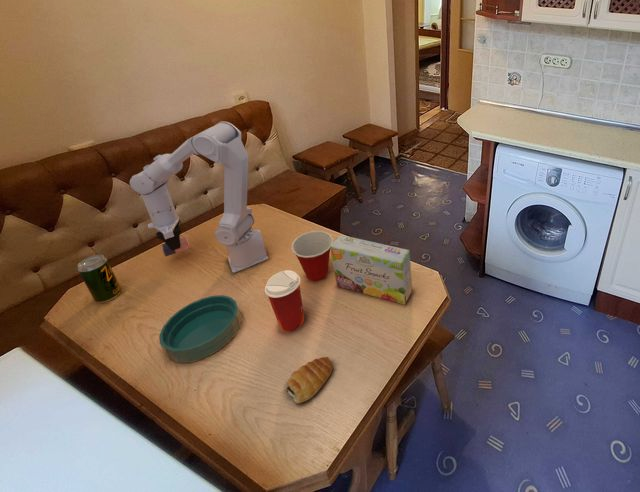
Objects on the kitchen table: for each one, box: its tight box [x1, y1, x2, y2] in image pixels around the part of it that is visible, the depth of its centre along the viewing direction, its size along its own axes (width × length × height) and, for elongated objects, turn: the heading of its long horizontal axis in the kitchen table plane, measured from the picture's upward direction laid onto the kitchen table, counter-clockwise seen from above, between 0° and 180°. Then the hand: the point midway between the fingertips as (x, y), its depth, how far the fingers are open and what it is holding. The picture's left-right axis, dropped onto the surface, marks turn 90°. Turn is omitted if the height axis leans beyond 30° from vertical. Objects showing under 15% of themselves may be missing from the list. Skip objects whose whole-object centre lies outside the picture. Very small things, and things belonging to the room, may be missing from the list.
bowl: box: [158, 294, 242, 364], centre depth 85 cm, size 15×15×4 cm
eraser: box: [161, 236, 191, 257], centre depth 107 cm, size 6×3×3 cm, turn 131°
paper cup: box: [264, 269, 305, 333], centre depth 87 cm, size 8×8×14 cm
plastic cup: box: [290, 230, 334, 283], centre depth 102 cm, size 11×11×12 cm
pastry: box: [284, 356, 334, 404], centre depth 76 cm, size 9×7×4 cm
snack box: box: [330, 234, 413, 305], centre depth 97 cm, size 21×6×15 cm, turn 74°
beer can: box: [77, 254, 122, 304], centre depth 94 cm, size 5×5×12 cm
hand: (175, 245), depth 107 cm, fingers closed on eraser, 3 cm apart
